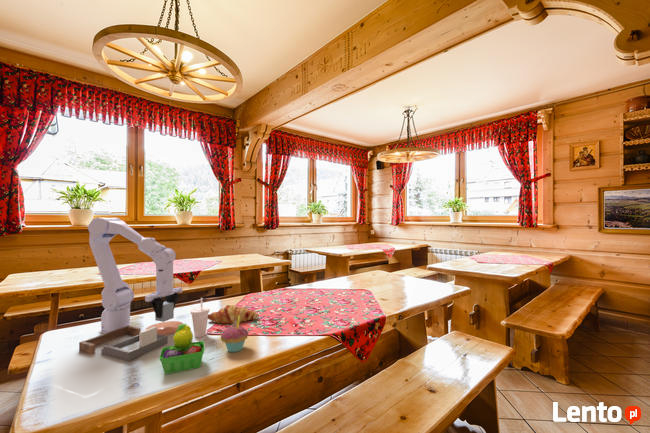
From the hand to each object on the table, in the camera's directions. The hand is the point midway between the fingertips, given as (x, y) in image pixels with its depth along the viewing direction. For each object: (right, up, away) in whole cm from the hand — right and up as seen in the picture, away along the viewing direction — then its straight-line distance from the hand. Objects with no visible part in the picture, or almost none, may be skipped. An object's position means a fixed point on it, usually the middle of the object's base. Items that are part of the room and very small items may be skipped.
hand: (164, 315), depth 109 cm
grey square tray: (-1, -5, -16) cm, 17 cm away
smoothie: (+16, -6, -5) cm, 18 cm away
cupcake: (+32, -6, -16) cm, 37 cm away
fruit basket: (+21, -6, -27) cm, 34 cm away
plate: (0, -6, 0) cm, 6 cm away
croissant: (+23, -6, +10) cm, 26 cm away
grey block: (0, -2, 0) cm, 2 cm away
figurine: (+29, -6, -4) cm, 29 cm away
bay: (-12, -6, -12) cm, 17 cm away
